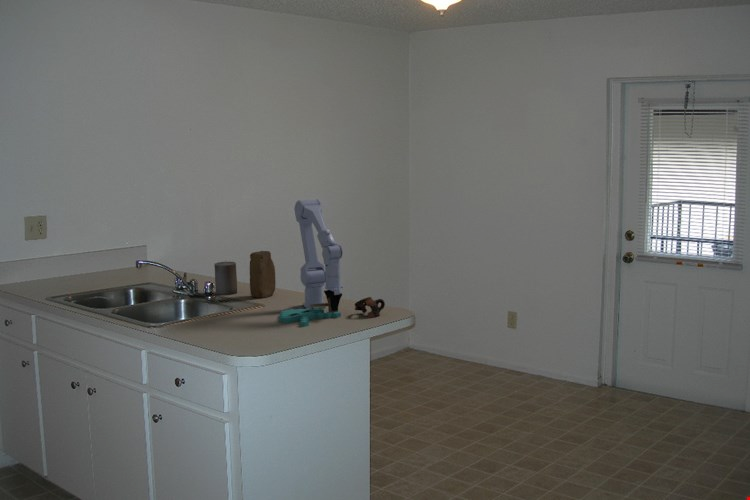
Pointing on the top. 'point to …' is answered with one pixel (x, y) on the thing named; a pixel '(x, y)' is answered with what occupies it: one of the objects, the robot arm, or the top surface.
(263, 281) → the brown jar
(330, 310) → the wooden mallet
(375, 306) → the broken pottery
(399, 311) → the top surface
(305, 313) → the alien figure
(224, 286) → the pillar candle
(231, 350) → the top surface
